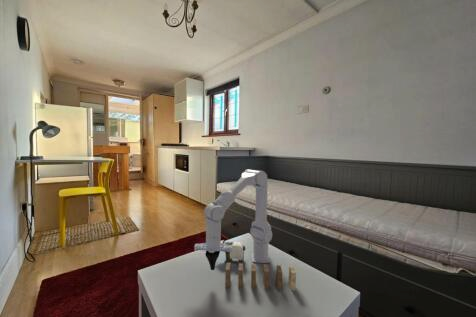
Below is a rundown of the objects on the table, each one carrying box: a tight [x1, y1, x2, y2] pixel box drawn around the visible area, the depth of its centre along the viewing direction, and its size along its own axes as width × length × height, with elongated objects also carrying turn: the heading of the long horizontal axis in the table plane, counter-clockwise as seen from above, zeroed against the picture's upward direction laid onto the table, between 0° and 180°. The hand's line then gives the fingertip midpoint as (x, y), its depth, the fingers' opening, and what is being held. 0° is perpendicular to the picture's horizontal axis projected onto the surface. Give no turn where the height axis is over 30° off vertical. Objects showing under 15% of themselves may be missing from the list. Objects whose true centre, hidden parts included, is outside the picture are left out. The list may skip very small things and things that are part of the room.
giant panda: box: [221, 239, 246, 265], centre depth 94 cm, size 15×6×10 cm, turn 78°
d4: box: [263, 264, 270, 290], centre depth 78 cm, size 4×2×7 cm, turn 177°
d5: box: [275, 264, 283, 291], centre depth 77 cm, size 4×2×7 cm, turn 177°
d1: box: [224, 262, 232, 288], centre depth 78 cm, size 4×2×7 cm, turn 177°
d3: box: [250, 263, 257, 290], centre depth 78 cm, size 4×2×7 cm, turn 177°
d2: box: [237, 263, 244, 289], centre depth 78 cm, size 4×2×7 cm, turn 177°
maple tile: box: [288, 265, 297, 292], centre depth 77 cm, size 4×2×7 cm, turn 178°
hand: (212, 268), depth 79 cm, fingers closed
